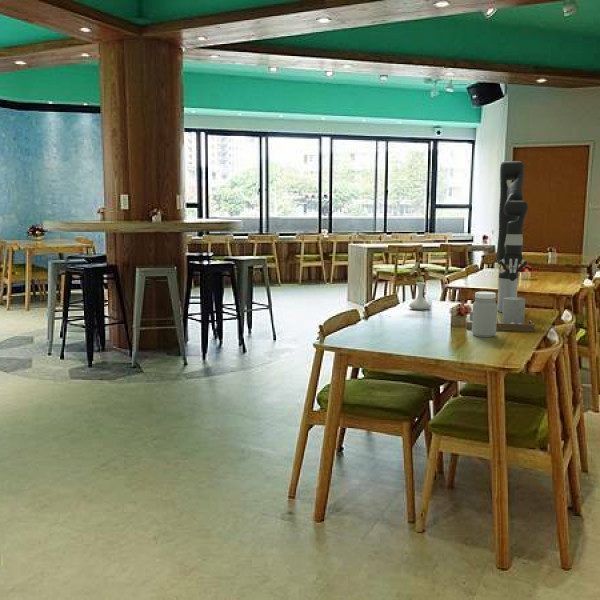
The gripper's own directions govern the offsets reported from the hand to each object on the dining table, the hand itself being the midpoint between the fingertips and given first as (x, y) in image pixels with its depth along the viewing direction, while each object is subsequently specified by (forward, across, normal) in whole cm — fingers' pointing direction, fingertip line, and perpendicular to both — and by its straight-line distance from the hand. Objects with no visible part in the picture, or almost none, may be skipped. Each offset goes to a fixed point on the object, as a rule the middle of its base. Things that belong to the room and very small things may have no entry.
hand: (512, 280), depth 304 cm
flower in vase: (+19, +43, -22) cm, 52 cm away
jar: (+18, +14, +40) cm, 46 cm away
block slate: (+19, +16, +2) cm, 25 cm away
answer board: (+18, +7, +22) cm, 29 cm away
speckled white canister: (+19, 0, +13) cm, 23 cm away
